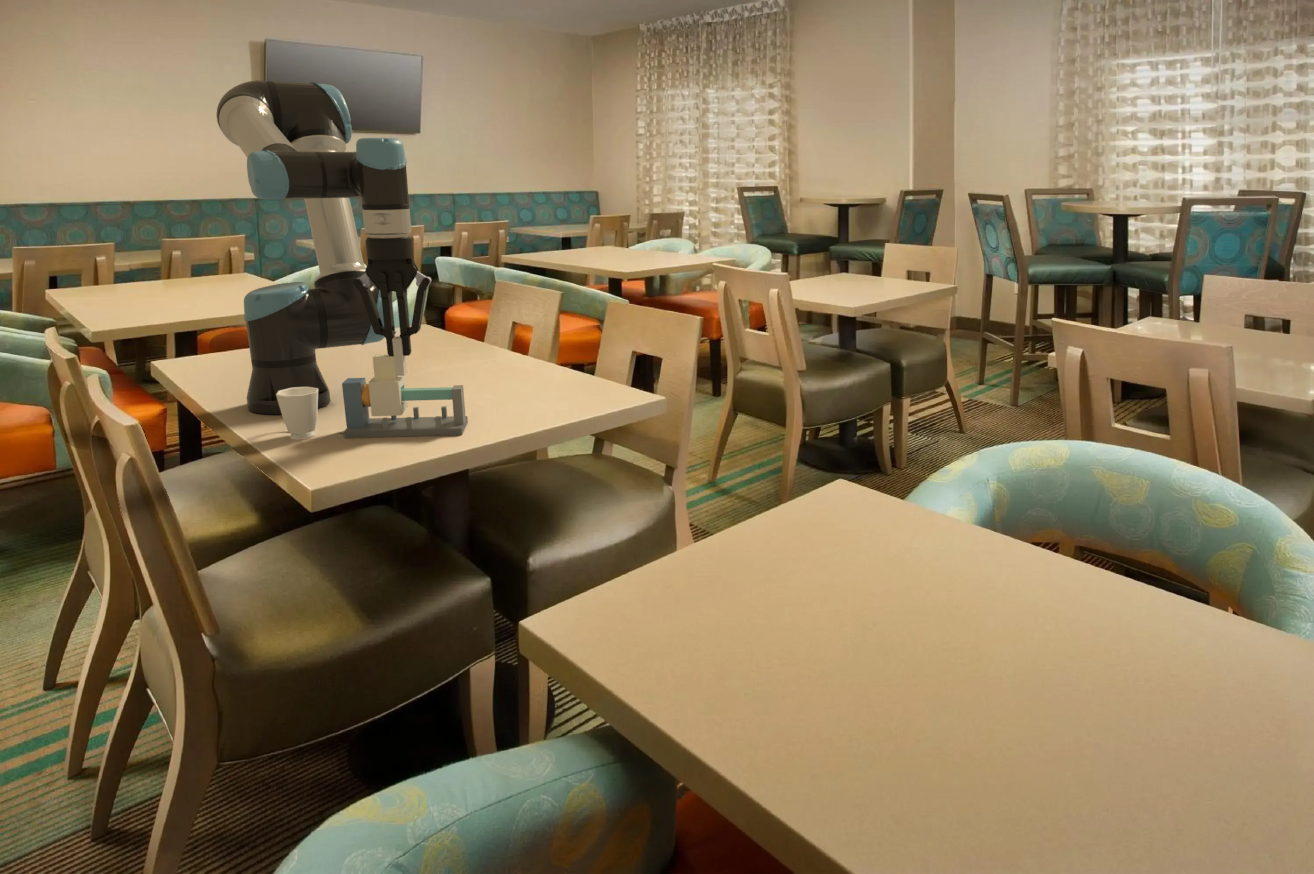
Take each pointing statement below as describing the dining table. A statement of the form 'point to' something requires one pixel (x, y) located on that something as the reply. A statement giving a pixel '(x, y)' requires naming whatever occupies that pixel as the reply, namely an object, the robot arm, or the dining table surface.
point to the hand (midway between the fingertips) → (401, 373)
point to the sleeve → (386, 388)
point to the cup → (299, 411)
